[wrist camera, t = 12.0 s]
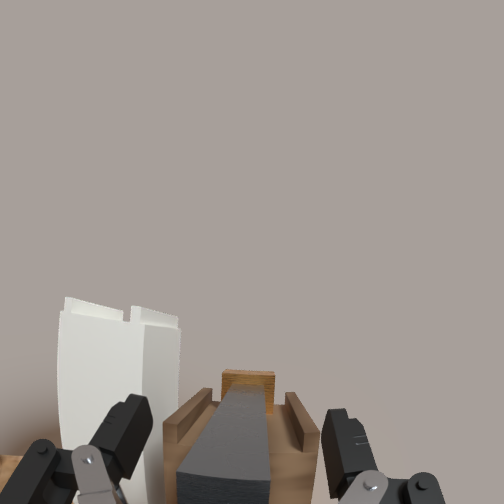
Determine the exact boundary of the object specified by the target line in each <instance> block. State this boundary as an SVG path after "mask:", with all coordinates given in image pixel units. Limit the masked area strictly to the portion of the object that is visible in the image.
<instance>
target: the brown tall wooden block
mask: <svg viewBox="0 0 504 504" xmlns="http://www.w3.org/2000/svg"><path fill="white" fill-rule="evenodd" d="M220 403H221V402H218V401H212V388H203V389H201V390H200V391H199V392H198V393H197V394H196V395H194V396H193V397H192V398H191V399H190V400H189V401H187V402H186V403H185V404H184V405H183V406H181V407H180V408H179V409H178V410H177V411H175V412H174V413H173V414H172V415H171V416H169V417H168V418H167V419H166V420H164V421H163V462H164V481H165V495H166V504H178V502H177V484H176V470H177V469H178V467H179V466H180V464H181V463H182V461H183V460H184V458H185V457H186V456H187V454H188V453H189V451H190V450H191V448H192V446H193V445H194V443H195V442H196V440H197V439H198V437H199V436H200V434H201V433H202V431H203V430H204V428H205V427H206V425H207V423H208V422H209V420H210V419H211V417H212V416H213V414H214V412H215V411H216V409H217V408H218V406H219V404H220ZM266 420H267V434H268V448H269V463H270V477H271V483H270V494H269V504H311V499H312V492H313V486H314V479H315V472H316V464H317V456H318V448H319V440H320V431H319V430H318V428H317V426H316V425H315V423H314V422H313V420H312V419H311V417H310V416H309V414H308V412H307V411H306V409H305V408H304V406H303V405H302V403H301V402H300V400H299V399H298V397H297V395H296V394H295V392H286V393H285V405H273V414H266Z"/></svg>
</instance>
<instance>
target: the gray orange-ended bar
mask: <svg viewBox="0 0 504 504" xmlns="http://www.w3.org/2000/svg"><path fill="white" fill-rule="evenodd" d="M274 387H275V374H274V372H269V371H244V370H229V369H226V370H225V371H224V372H223V373H222V391H221V403H220V404H219V406H218V408H217V409H216V411H215V412H214V414H213V416H212V417H211V419H210V420H209V422H208V423H207V425H206V427H205V428H204V430H203V431H202V433H201V434H200V436H199V437H198V439H197V440H196V442H195V443H194V445H193V446H192V448H191V450H190V451H189V453H188V454H187V456H186V457H185V458H184V460H183V461H182V463H181V464H180V466H179V467H178V469H177V470H176V484H177V502H178V504H269V494H270V483H271V477H270V463H269V448H268V434H267V420H266V414H273V405H274Z"/></svg>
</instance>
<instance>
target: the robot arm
mask: <svg viewBox="0 0 504 504" xmlns="http://www.w3.org/2000/svg"><path fill="white" fill-rule="evenodd" d="M152 428H153V416H152V413H151V409H150V405H149V402H148V398H147V397H146V396H141V395H137V394H132V393H131V394H129V396H128V397H127V399H126V400H125V402H121V401H119V402H118V403H117V404H115V405H114V406H112V407H111V409H110V410H109V412H108V413H107V416H106V417H105V418H104V420H103V422H102V423H101V425H100V426H99V428H98V429H97V431H96V432H95V434H94V436H93V437H92V439H91V440H90V442H89V443H88V445H81V446H78V447H77V448H75V449H74V450H66V449H58V448H56V447H55V446H54V444H53V443H52V442H51V441H49V440H47V439H39V440H36V441H35V442H33V443H32V445H31V446H30V447H29V449H28V450H27V452H26V454H25V455H24V457H23V458H22V460H21V461H20V463H19V464H18V466H17V467H16V469H15V471H14V472H13V474H12V475H11V477H10V479H9V480H8V482H7V483H6V485H5V487H4V488H3V490H2V492H1V493H0V504H71V503H72V501H73V499H74V496H75V494H76V492H77V490H79V492H80V495H77V500H78V503H79V504H128V502H127V500H126V497H125V495H124V493H123V490H122V488H121V486H120V484H119V483H120V481H121V479H122V478H124V479H128V480H130V479H131V477H132V474H133V472H134V470H135V468H136V465H137V463H138V461H139V458H140V456H141V454H142V451H143V449H144V447H145V444H146V442H147V440H148V438H149V435H150V433H151V431H152ZM321 443H322V449H323V455H324V461H325V467H326V473H327V480H328V486H329V493H330V498H331V499H334V498H338V501H339V503H338V504H445V501H444V498H443V495H442V492H441V489H440V486H439V484H438V481H437V479H436V478H435V476H434V475H432V474H430V473H426V472H421V473H417V474H415V475H413V476H412V477H411V478H410V479H391V478H388V477H386V476H385V475H384V474H383V473H381V472H379V471H378V469H377V466H376V463H375V460H374V457H373V454H372V451H371V448H370V445H369V443H368V439H367V436H366V433H365V430H364V427H363V425H362V424H361V423H360V422H359V421H358V420H357V419H356V418H354V419H349V418H348V415H347V411H346V409H345V408H343V409H329V410H328V411H327V414H326V418H325V421H324V425H323V428H322V433H321Z"/></svg>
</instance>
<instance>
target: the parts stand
mask: <svg viewBox="0 0 504 504" xmlns="http://www.w3.org/2000/svg"><path fill="white" fill-rule="evenodd" d="M180 340H181V329H178V317H176V316H172V315H169V314H165V313H161V312H158V311H154V310H151V309H147V308H143V307H138V306H131V316H130V322H124V321H123V311H121V310H117V309H113V308H109V307H105V306H101V305H97V304H93V303H90V302H86V301H82V300H79V299H75V298H70V297H65V305H64V311H60V321H59V335H58V361H57V384H58V407H59V421H60V431H61V439H62V447H63V449H66V450H74V449H75V448H77V447H78V446H81V445H88V443H89V442H90V440H91V439H92V437H93V436H94V434H95V432H96V431H97V429H98V428H99V426H100V425H101V423H102V422H103V420H104V418H105V417H106V416H107V413H108V412H109V410H110V409H111V407H112V406H114V405H115V404H117V403H118V402H119V401H121V402H125V400H126V399H127V397H128V396H129V394H131V393H132V394H137V395H141V396H146V397H147V398H148V402H149V405H150V409H151V413H152V416H153V428H152V431H151V433H150V435H149V438H148V440H147V442H146V444H145V447H144V449H143V451H142V454H141V456H140V458H139V461H138V463H137V465H136V468H135V470H134V472H133V474H132V477H131V479H130V480H128V479H124V478H122V479H121V481H120V483H119V484H120V486H121V488H122V490H123V493H124V495H125V497H126V500H127V502H128V504H166V495H165V481H164V462H163V421H164V420H166V419H167V418H168V417H169V416H171V415H172V414H173V413H174V412H175V411H177V410H178V384H179V360H180ZM77 495H80V492H79V490H77V492H76V494H75V496H74V499H73V502H74V504H79V503H78V500H77Z"/></svg>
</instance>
